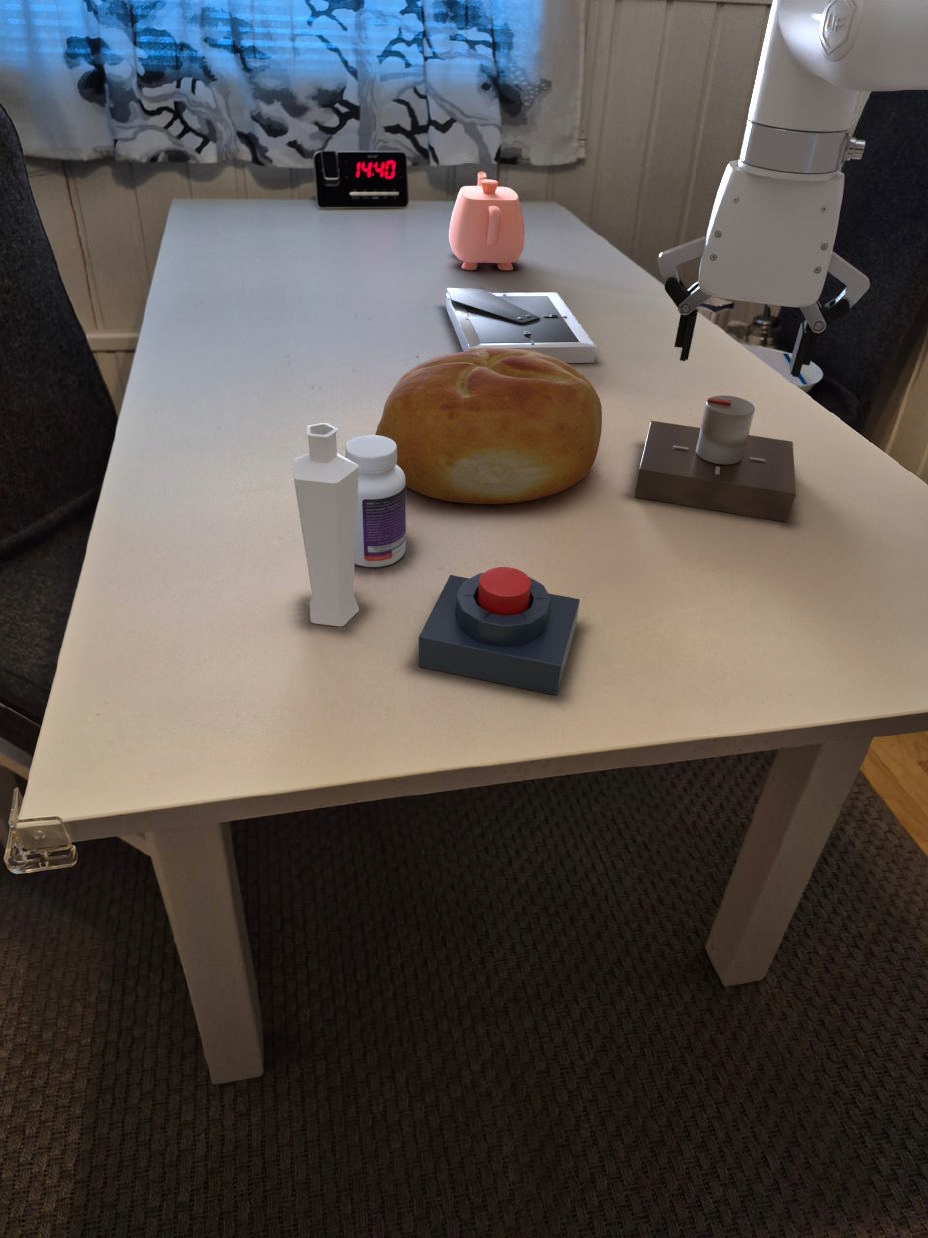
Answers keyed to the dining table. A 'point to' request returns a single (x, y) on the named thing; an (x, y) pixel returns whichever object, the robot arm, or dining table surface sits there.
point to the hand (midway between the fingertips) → (738, 363)
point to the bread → (493, 426)
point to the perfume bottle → (328, 524)
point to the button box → (499, 637)
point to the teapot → (487, 225)
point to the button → (504, 591)
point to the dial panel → (717, 474)
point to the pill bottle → (378, 501)
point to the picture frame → (518, 323)
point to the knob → (724, 429)
